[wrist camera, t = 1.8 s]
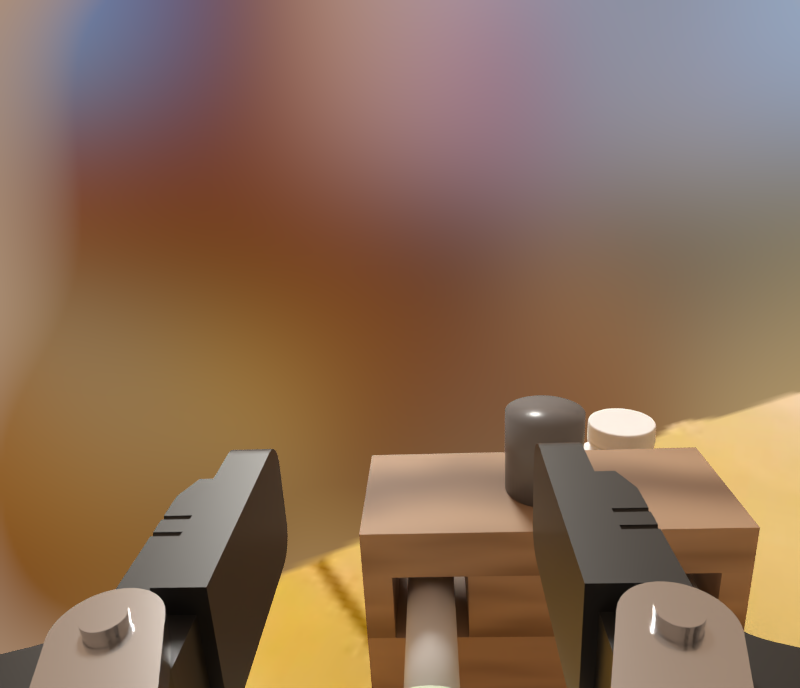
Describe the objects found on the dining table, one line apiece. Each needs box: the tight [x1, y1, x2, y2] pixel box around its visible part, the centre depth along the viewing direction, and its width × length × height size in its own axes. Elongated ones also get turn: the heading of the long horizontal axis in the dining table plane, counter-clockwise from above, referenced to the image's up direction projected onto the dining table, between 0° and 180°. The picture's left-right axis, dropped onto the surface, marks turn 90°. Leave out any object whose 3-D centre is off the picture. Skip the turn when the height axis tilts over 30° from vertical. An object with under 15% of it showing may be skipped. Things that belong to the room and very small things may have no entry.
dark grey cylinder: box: [505, 396, 585, 507], centre depth 31 cm, size 4×4×4 cm
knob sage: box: [404, 577, 460, 688], centre depth 26 cm, size 12×5×5 cm, turn 178°
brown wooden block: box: [359, 448, 760, 688], centre depth 33 cm, size 7×17×11 cm, turn 88°
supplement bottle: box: [584, 408, 656, 450], centre depth 42 cm, size 5×5×10 cm
